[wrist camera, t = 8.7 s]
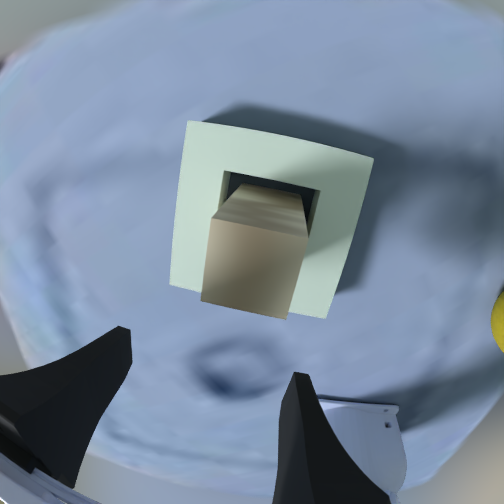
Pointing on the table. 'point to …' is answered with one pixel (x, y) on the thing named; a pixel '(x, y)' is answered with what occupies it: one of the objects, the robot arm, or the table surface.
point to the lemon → (498, 321)
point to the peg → (255, 251)
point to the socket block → (280, 169)
